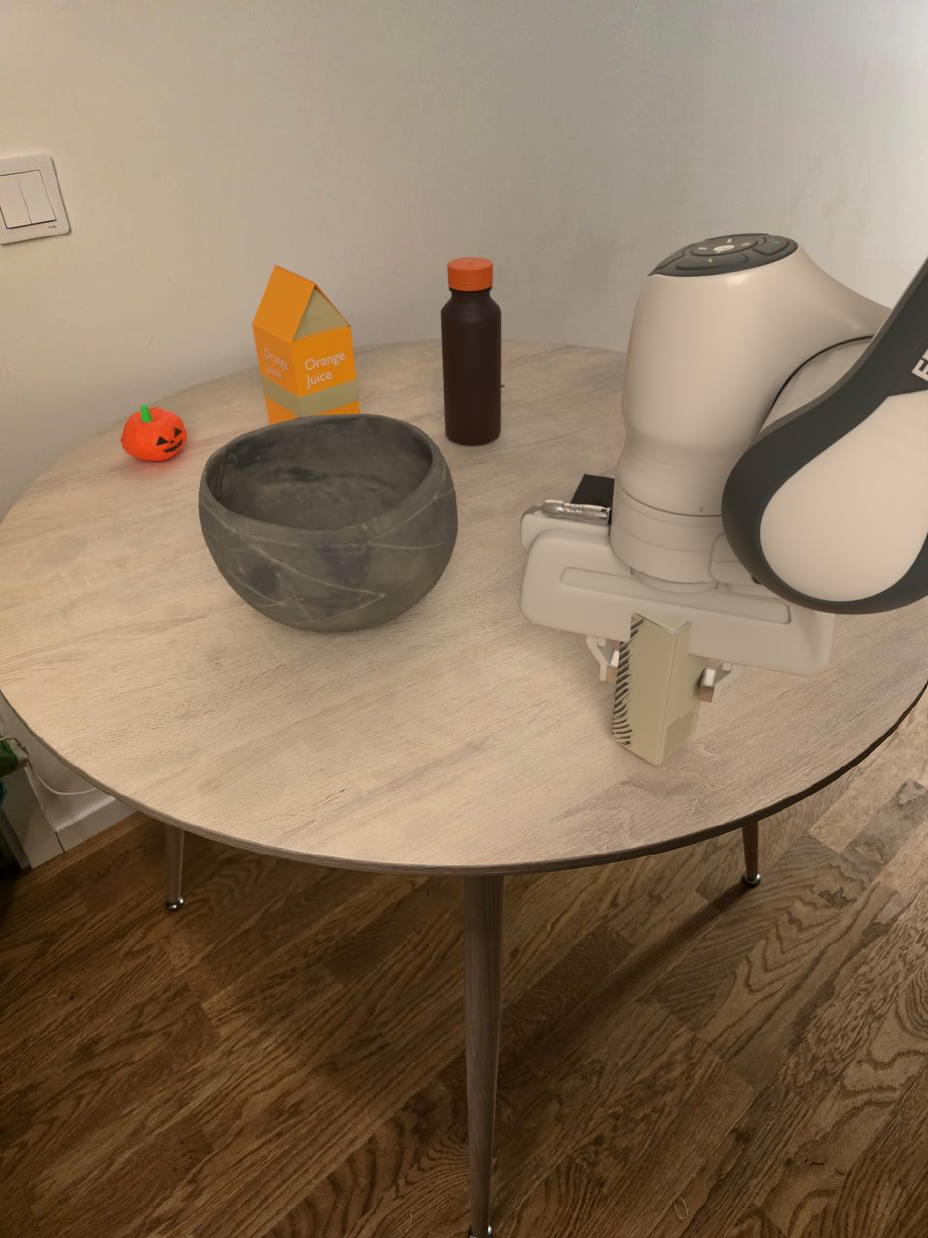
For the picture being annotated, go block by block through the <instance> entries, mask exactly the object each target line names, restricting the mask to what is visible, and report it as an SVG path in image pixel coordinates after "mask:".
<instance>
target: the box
mask: <svg viewBox="0 0 928 1238" xmlns="http://www.w3.org/2000/svg"><path fill="white" fill-rule="evenodd" d="M691 626H692V623H691V622H689V621H687V620H683V619H678V618H673V617H667V616H661V615H654V614H647V613H641V612H637V613H631V631H630V639H629V640H628V642H621V641H619V642H620V643H619V651H620V652H619V661H618V670H617V680H616V683H615V691H614V692H615V693H614V701H613V702H614V703H613V713H612V723H611V733H610V737H611V738H610V739H612V740H613V741H615V742H616V743H618V744H619V745H620V746H622V747H623V748H625V749H627V750H628V751H630V752H631V753H632V754H635V755H636V756H638V757H639V758H641V759H642V760H644V761H646V762H648V763H649V764H651V765H653V766H655V767H658V766H660V765H661V764H662V763H663V762H664V761H666V760H667V759H668V758H669V757H670V756H672V754H673V753H675V752H676V751H677V750H678V749H679V748H680V747H681V746H682V745H684V744H685V743H686V741H687V740H688V739H690V737H691V736H692V735H693V734H694V733H696V729H697V723H698V718H699V712H700V707H701V701H700V700H698V695H699V690H700V684H701V679H702V674H703V670H704V668H708V662H709V658H705V657H700V656H694V655H689V654H688V644H689V638H690V632H691Z"/></svg>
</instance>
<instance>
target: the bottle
mask: <svg viewBox="0 0 928 1238" xmlns="http://www.w3.org/2000/svg"><path fill="white" fill-rule="evenodd" d="M446 266H447V267H446V269H447V286H448V291H449V292H450V293H451V294H450V298H449V299H448V300H447V302H446V303H445V304H444V305H443V306H442V308H441V309H440V334H441V335H440V336H441V357H442V359H441V360H442V384H443V407H444V408H443V409H444V411H443V412H444V432H445V436H446V437H447V438H448V440H450V441H451V442H453V443H456V444H459V445H462V446H471V447H472V446H482V445H486V444H489V443H491V442H493V441H495V440H496V439H498V437H499V436H500V435H501V433H502V309H501V307H500V305H499V304H498V303H497V302H496V301H495V300H494V299H493V297H492V296H491V291H492V290H493V284H494V267H493V266H494V263H493V261H492V260H490V259H488V258H486V257H479V256H463V257H459V258H455V259H451V260H450V261H449V262H448V263H447V265H446Z"/></svg>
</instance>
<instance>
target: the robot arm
mask: <svg viewBox="0 0 928 1238" xmlns="http://www.w3.org/2000/svg"><path fill="white" fill-rule="evenodd" d="M897 299H898V300H897V301H896V302H895V304H894V305H893V307H892V308H891V307H889V306H885V305H883V304H881V303H879V302H877V301H874V300H872V299H870V298H868V297H866V296H864V295H862V294H860V293H859V292H857V291H855V290H853V289H851V288H850V287H848V286H847V285H845V284H843V283H842V282H841V281H839V280H838V279H836V278H834V277H833V276H832V275H830V274H829V273H827V271H825V270H824V269H822V268H821V267H820V266H819V265H818V264H817V263H816V262H815V260H813V259H812V258H811V256H810V255H809V254H808V252H807V251H806V250H805V248H804V247H803V246H802V245H801V244H800V243H799V242H797V241H796V240H794V239H792V238H789V237H785V236H782V235H775V234H769V233H764V232H745V233H743V232H742V233H734V234H733V233H732V234H725V235H719V236H715V237H710V238H706V239H704V240H702V241H701V240H700V241H698V242H692V243H690V244H687V245H685V246H682V247H681V248H679V249H678V250H676V251H674V252H673V253H670V254H669V256H667V257H666V258H664V259H662V261H660V262H659V263H658V264H657V265H656V266H655V267H654V269H653V270H651V272H649V273H648V275H647V276H646V277H645V279H644V281H643V283H642V285H641V288H640V290H639V294H638V298H637V301H636V304H635V308H634V313H633V317H632V321H631V327H630V332H629V338H628V343H627V350H626V356H625V357H626V358H625V365H624V374H623V382H622V392H621V402H620V403H621V406H620V407H621V415H622V418H623V423H624V431H625V435H624V443H623V446H622V449H621V451H620V453H619V456H618V458H617V462H616V465H615V466H616V467H615V473H614V478H615V483H614V495H613V508H609V507H602V506H595V505H586V504H585V505H584V504H571V503H570V502H566V501H564V500H560V499H544V501H542V503H537V504H534V505H532V506H530V507H528V508H527V509H526V510H525V511H524V512H523V513H522V515H521V519H520V543H521V547H522V549H523V550H524V552H525V553H526V555H527V557H526V560H525V564H524V569H523V574H522V579H521V583H520V592H519V604H518V605H519V606H518V607H519V612H520V613H521V615H522V616H523V618H524V619H525V620H526V621H527V622H528V623H529V624H530V625H533V626H537V627H543V628H549V629H553V630H554V629H555V630H558V631H564V632H569V633H574V634H579V635H584V636H586V637H585V645H586V647H587V648H588V650H589V651H590V653H591V654H592V656H593V658H594V659H595V660H596V662H597V663H598V664H599V674H598V680H599V681H602V682H607V683H612V684H616V680H617V670H618V661H619V652H620V650H616V649H615V648H614V646H613V644H612V642H611V641H616V642H620V641H621V642H628V640H629V639H630V631H631V613H637V612H641V613H647V614H654V615H661V616H667V617H673V618H678V619H683V620H687V621H689V622H691V623H692V626H691V632H690V638H689V644H688V654H689V655H694V656H700V657H705V658H708V659H711V660H717V661H720V662H721V664H720V665H718V666H717V667H716V668H714V669H713V668H708V667H707V668H704V670H703V674H702V679H701V684H700V690H699V695H698V700H700V702H705V703H708V704H714V705H718V706H719V705H720V703H721V702H720V701H721V697H722V691H723V689H726V688H727V687H729V686H730V685H731V684H732V683H734V682H735V681H736V680H737V679H738V678H740V677H741V676H743V675H744V671H745V666H747V667H753V668H757V669H762V670H767V671H772V672H773V671H774V672H779V673H784V674H790V675H793V676H798V677H799V676H800V677H805V678H811V677H815V676H817V675H818V674H820V673H822V672H824V671H825V670H827V668H828V667H829V664H830V662H831V659H832V658H831V657H832V652H833V647H834V642H835V632H836V621H837V620H836V619H837V615H842V616H843V615H846V616H847V615H848V616H858V615H859V616H860V615H862V616H863V615H873V614H881V613H886V612H891V611H894V610H898V609H901V608H904V607H907V606H910V605H912V604H915V603H916V602H918V601H921V600H923V599H924V598H926V597H928V255H926V257H925V259H924V260H923V261H922V264H920V266H919V268H918V269H917V271H916V272H915V274H914V275H913V276H912V279H911V280H910V281H909V283H908V284H907V285H906V287H905V289H904V290H903V291H902V293H901V295H900V296H899V298H897Z"/></svg>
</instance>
